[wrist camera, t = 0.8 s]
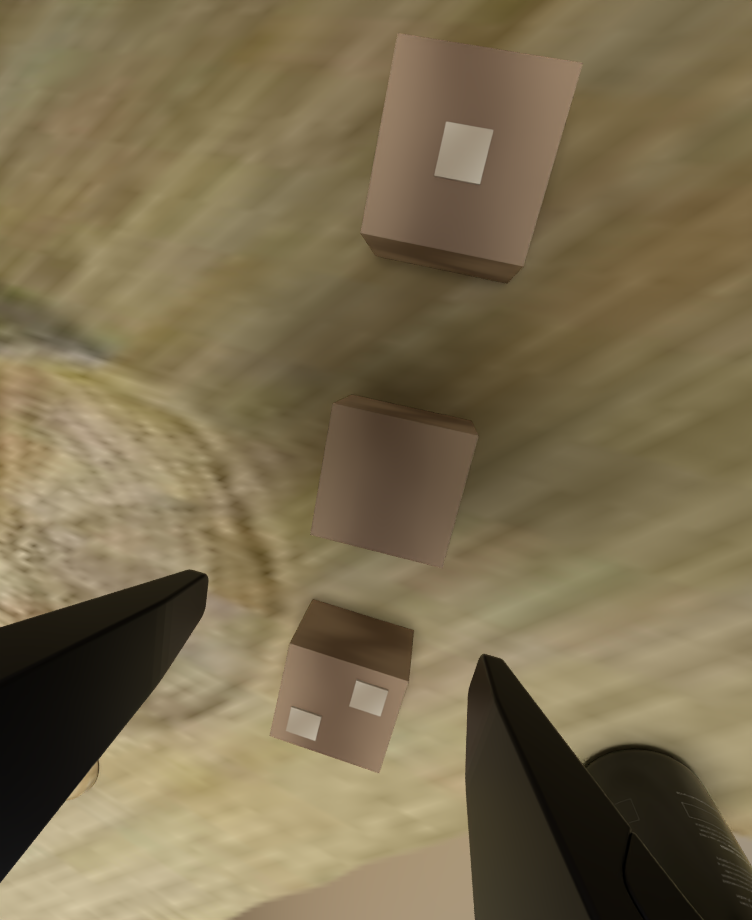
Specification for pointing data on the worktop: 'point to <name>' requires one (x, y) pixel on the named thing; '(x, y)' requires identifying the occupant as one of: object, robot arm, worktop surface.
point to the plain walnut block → (393, 478)
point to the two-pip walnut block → (343, 685)
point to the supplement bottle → (679, 829)
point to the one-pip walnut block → (465, 155)
